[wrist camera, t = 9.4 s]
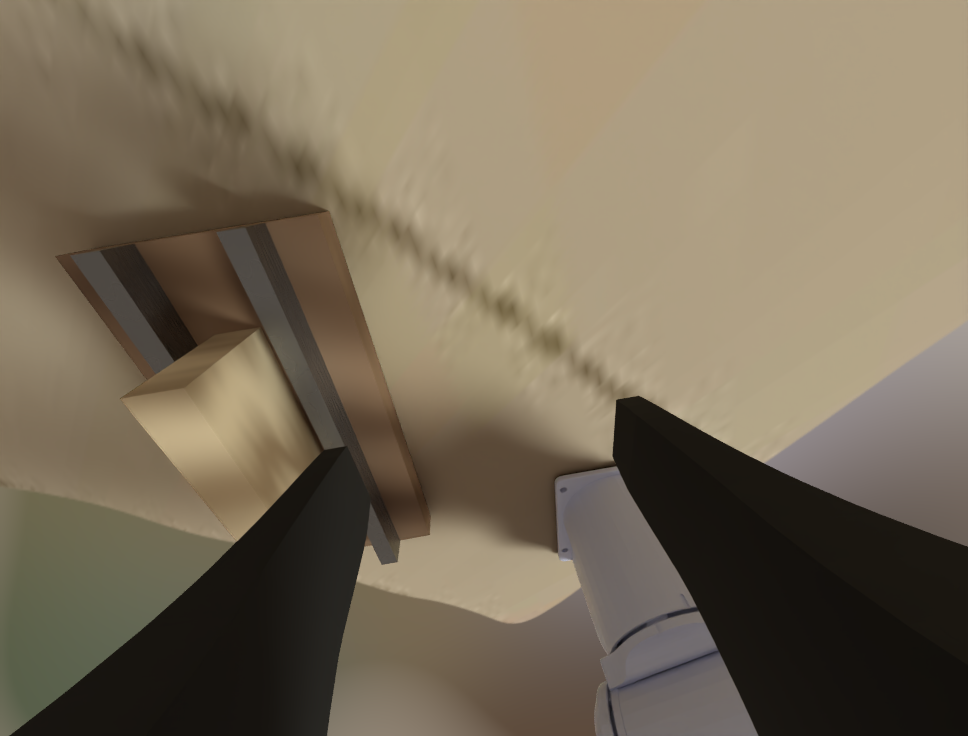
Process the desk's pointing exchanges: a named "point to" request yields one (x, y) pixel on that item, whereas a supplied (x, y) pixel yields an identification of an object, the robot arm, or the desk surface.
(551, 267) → the desk surface
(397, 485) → the track board
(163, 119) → the desk surface
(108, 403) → the desk surface
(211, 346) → the wooden block
